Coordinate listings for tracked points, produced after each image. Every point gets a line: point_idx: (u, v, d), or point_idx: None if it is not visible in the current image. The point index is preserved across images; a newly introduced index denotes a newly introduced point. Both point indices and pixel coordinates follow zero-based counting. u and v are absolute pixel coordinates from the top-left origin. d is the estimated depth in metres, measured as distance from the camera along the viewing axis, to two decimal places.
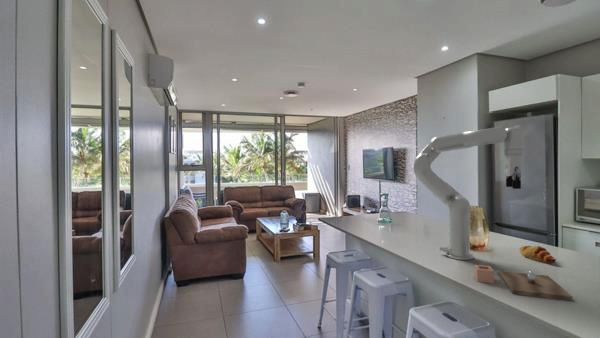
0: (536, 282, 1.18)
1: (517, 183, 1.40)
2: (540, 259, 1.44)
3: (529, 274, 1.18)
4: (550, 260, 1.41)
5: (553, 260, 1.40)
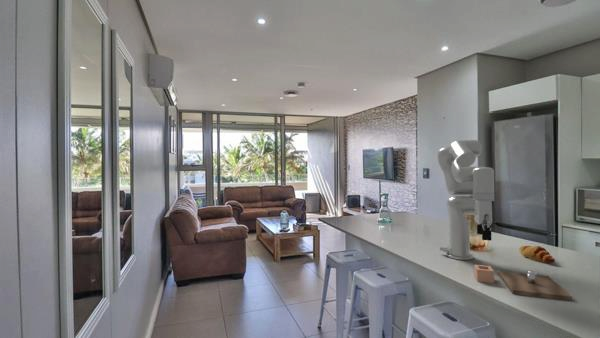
0: (536, 282, 1.18)
1: (487, 234, 1.19)
2: (539, 259, 1.44)
3: (529, 274, 1.18)
4: (549, 260, 1.41)
5: (552, 260, 1.40)
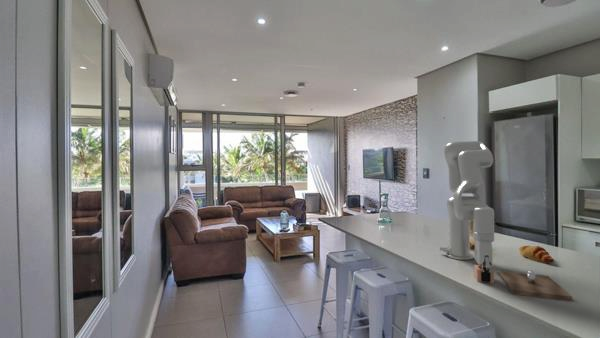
0: (536, 282, 1.18)
1: (486, 276, 1.21)
2: (538, 259, 1.45)
3: (529, 274, 1.18)
4: (548, 260, 1.41)
5: (551, 260, 1.40)
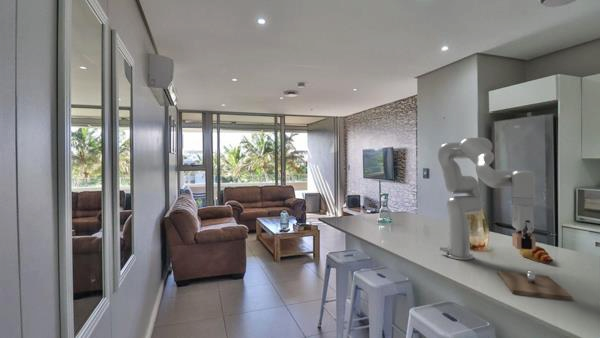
0: (536, 282, 1.18)
1: (527, 242, 1.15)
2: (537, 259, 1.45)
3: (529, 274, 1.18)
4: (547, 260, 1.41)
5: (550, 260, 1.40)
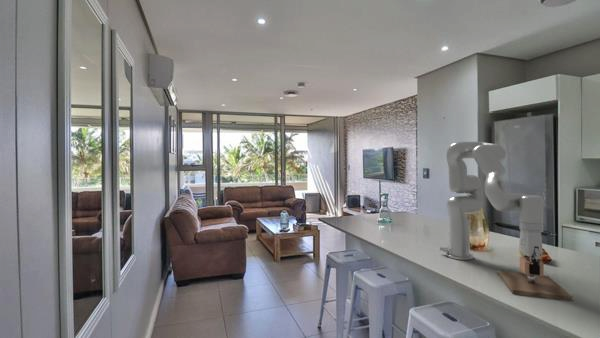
0: (536, 282, 1.18)
1: (535, 268, 1.14)
2: None
3: None
4: (546, 260, 1.41)
5: (549, 260, 1.40)
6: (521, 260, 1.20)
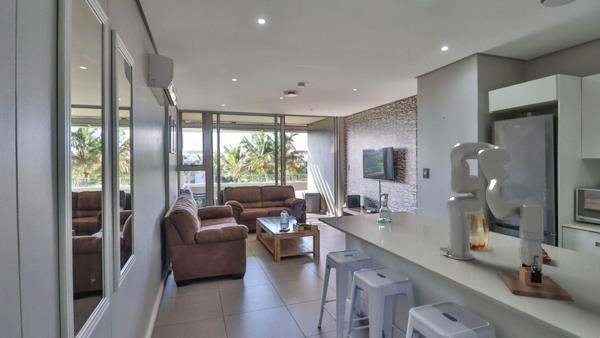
0: None
1: (537, 277, 1.12)
2: None
3: None
4: (545, 260, 1.41)
5: (548, 260, 1.40)
6: (521, 270, 1.20)
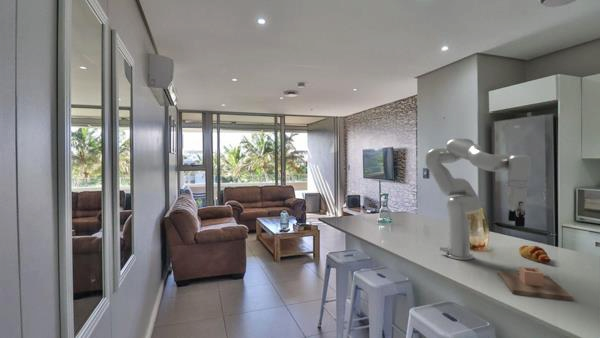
0: None
1: (520, 220, 1.22)
2: (535, 258, 1.45)
3: None
4: (544, 260, 1.41)
5: (547, 260, 1.40)
6: (521, 270, 1.20)
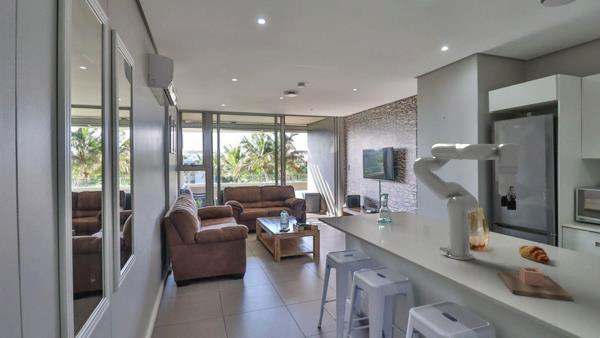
0: None
1: (512, 204, 1.30)
2: (534, 258, 1.45)
3: None
4: (543, 260, 1.41)
5: (546, 260, 1.41)
6: (521, 270, 1.20)
